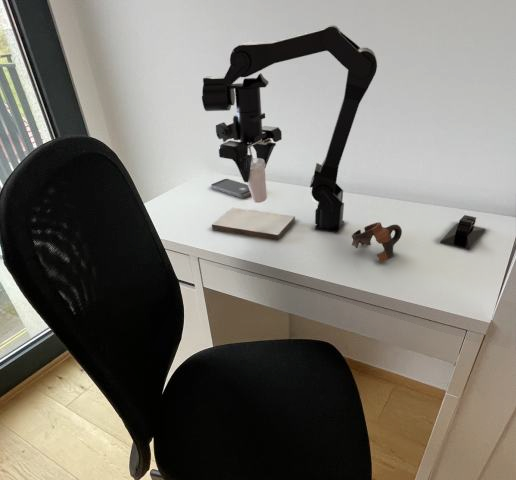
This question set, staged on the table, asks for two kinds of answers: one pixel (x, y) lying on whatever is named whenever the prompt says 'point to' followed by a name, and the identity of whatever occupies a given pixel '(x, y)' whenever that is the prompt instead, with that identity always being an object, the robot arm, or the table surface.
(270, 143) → the robot arm
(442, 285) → the table surface
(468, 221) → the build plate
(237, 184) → the phone
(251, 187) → the smoothie
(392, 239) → the brown irregular piece
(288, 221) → the board
